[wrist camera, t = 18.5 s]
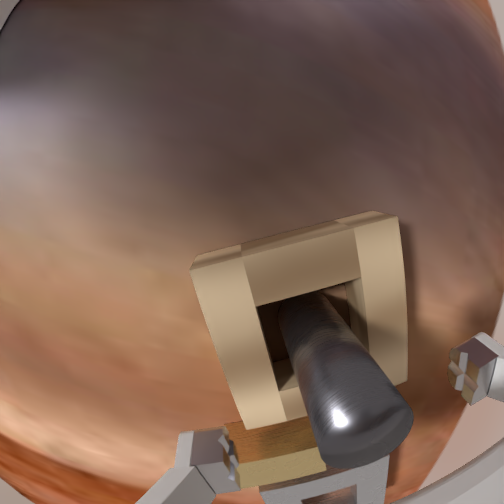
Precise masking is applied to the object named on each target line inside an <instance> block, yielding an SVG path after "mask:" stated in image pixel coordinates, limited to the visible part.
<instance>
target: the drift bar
mask: <svg viewBox="0 0 504 504" xmlns="http://www.w3.org/2000/svg"><path fill="white" fill-rule="evenodd" d="M224 426H225V427H226V428H227V430H228V432H229V439H230V440H232V441H233V442H234V444H235V446H236V449H237V453H238V458H239V466H238V467H237V471H238V473H239V475H240V486H241V489H242V488H249V487H255V486H261V485H266V484H272V483H277V482H282V481H286V480H291V479H295V478H299V477H303V476H307V475H311V474H315V473H319V472H322V471H326V464H325V462H324V461H323V460H322V459H321V456H320V453H319V450H318V446H317V443H316V440H315V437H314V434H313V431H312V427H311V424H310V421H309V418H308V416H304V417H301V418H297V419H293V420H289V421H285V422H281V423H277V424H273V425H268V426H264V427H259V428H254V429H249V430H246V428H245V425H244V423H243V421H241V422H235V423H230V424H225V425H224Z"/></svg>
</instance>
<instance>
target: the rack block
mask: <svg viewBox="0 0 504 504" xmlns="http://www.w3.org/2000/svg"><path fill="white" fill-rule="evenodd" d="M189 272H190V275H191V278H192V281H193V285H194V288H195V291H196V294H197V297H198V300H199V303H200V306H201V309H202V312H203V315H204V318H205V321H206V324H207V327H208V330H209V333H210V335H211V338H212V341H213V344H214V347H215V350H216V352H217V355H218V358H219V361H220V363H221V366H222V369H223V372H224V374H225V377H226V380H227V382H228V385H229V387H230V390H231V393H232V395H233V398H234V400H235V403H236V405H237V408H238V410H239V413H240V415H241V418H242V420H243V423H244V425H245V428H246V430H249V429H254V428H259V427H264V426H268V425H273V424H277V423H281V422H285V421H289V420H293V419H297V418H301V417H304V416H308V415H307V412H306V408H305V405H304V402H303V399H302V396H301V393H300V389H299V386H298V383H297V380H296V377H295V374H294V370H293V367H292V364H291V361H290V358H288V359H285V360H281V361H277V362H273V363H272V359H271V356H270V352H269V348H268V345H267V341H266V337H265V334H264V330H263V326H262V323H261V319H260V315H259V312H258V308H257V306H260V305H264V304H267V303H271V302H275V301H279V300H283V299H286V298H290V297H294V296H297V295H301V294H305V293H308V292H312V291H315V290H319V289H322V288H326V287H329V286H333V285H336V284H340V283H343V282H345V288H346V294H347V301H348V308H349V315H350V323H351V330H352V331H353V332H354V334H355V335H356V336H357V338H358V339H359V340H360V342H361V343H362V344H363V345H364V347H365V348H366V349H367V351H368V352H369V353H370V355H371V356H372V357H373V358H374V360H375V361H376V362H377V364H378V365H379V366H380V368H381V369H382V370H383V372H384V373H385V374H386V376H387V377H388V378H389V380H390V381H391V382H392V384H393V385H394V386H396V385H398V384H400V383H403V382H405V381H407V370H408V329H407V303H406V287H405V275H404V264H403V254H402V246H401V238H400V230H399V223H398V216H393V215H389V214H385V213H380V212H376V211H369V212H365V213H361V214H357V215H353V216H349V217H345V218H341V219H337V220H333V221H329V222H325V223H321V224H317V225H313V226H309V227H305V228H301V229H297V230H293V231H289V232H285V233H281V234H277V235H274V236H270V237H266V238H262V239H258V240H254V241H250V242H246V243H243V244H239V245H235V246H231V247H227V248H223V249H220V250H216V251H212V252H208V253H204V254H201V255H197V256H196V258H195V260H194V262H193V264H192V266H191V268H190V270H189Z"/></svg>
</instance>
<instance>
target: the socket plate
mask: <svg viewBox="0 0 504 504" xmlns="http://www.w3.org/2000/svg"><path fill="white" fill-rule="evenodd" d="M389 456H390V455H389V454H388V455H386V456H385V457H383V458H381V459H379V460H377V461H375V462H373V463H371V464H368V465H365V466H362V467H358V468H351V469H339V468H334V467H331V466H329V465H327V464H326V463H325V464H326V471H322V472H319V473H315V474H311V475H307V476H303V477H299V478H295V479H291V480H286V481H282V482H277V483H272V484H266V485H261V486H259V492H260V494H261V496H262V498H263V500H264V502H265V504H384V497H385V491H386V483H387V475H388V466H389Z"/></svg>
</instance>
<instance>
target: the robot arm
mask: <svg viewBox="0 0 504 504" xmlns="http://www.w3.org/2000/svg"><path fill="white" fill-rule="evenodd" d="M19 1H20V0H0V30H1V28H2V26H3V25H4V23H5V21H6V19H7V17H8V16H9V14H10V12H11V11H12V9H13V8H14V6H15V5H16V4H17V3H18V2H19ZM449 358H450V359H451V363H450V365H449V366H448V372H447V375H448V379H449V382H450V384H451V385H452V386H453V388H454V389H456V390H461V396H462V397H463V398H464V399H465V400H466V401H467V402H468V403H469V404H470V405H473V404H475V403H476V402H478V401H479V400H481V399H483V398H484V397H486V396H487V395H488V397H490V398H493V399H496V400H499V401H502V402H504V346H502V345H501V344H500V343H498V342H497V341H495V340H494V339H493V338H491V337H490V336H488V335H487V334H486V333H484V332H480V333H478V334H477V335H475V336H473V337H472V338H470V339H468V340H466V341H465V342H463V343H461V344H459V345H457V346H455V347H454V348H452V349H451V351H450V354H449ZM238 466H239V458H238V453H237V449H236V446H235V444H234V442H233V441H232V440H230V439H229V432H228V430H227V428H226V427H225V426H221V427H214V428H207V429H199V430H193V431H184V432H181V433H180V434H179V438H178V444H177V451H176V458H175V465H174V468H170V469H169V470H168V471H167V472H166V473H165V474H164V475H163V476H162V477H161V478H160V479H159V480H158V481H157V482H156V483H155V484H154V485H153V486H152V487H151V488H150V489H149V490H148V491H147V492H146V493H145V494H144V495H143V496H142V497H141V498H140V499H139V500H138V501H137V502H136V503H135V504H211V503H212V501H213V500H214V498H215V496H216V494H220V493H227V492H234V491H240V490H241V486H240V475H239V473H238V471H237V467H238ZM390 504H504V438H502V439H501V440H500V441H498V442H497V443H496V444H494V445H493V446H492V447H491V448H489V449H487V450H486V451H485V452H483V453H482V454H480V455H479V456H477V457H476V458H474V459H473V460H471V461H470V462H468V463H467V464H465V465H464V466H462V467H460V468H459V469H457V470H455V471H454V472H452V473H450V474H448V475H447V476H445V477H443V478H441V479H440V480H438V481H436V482H434V483H432V484H430V485H429V486H426V487H425V488H423V489H421V490H419V491H417V492H414V493H412V494H410V495H408V496H406V497H404V498H402V499H399V500H397V501H395V502H393V503H390Z"/></svg>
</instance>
